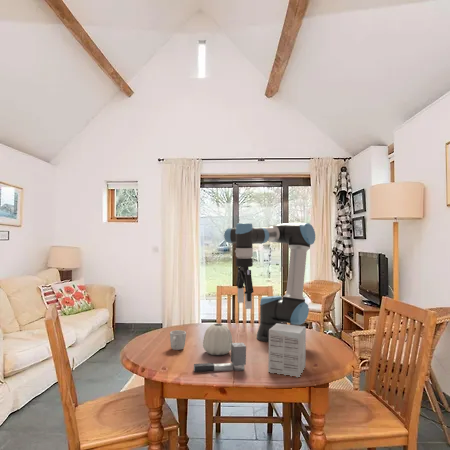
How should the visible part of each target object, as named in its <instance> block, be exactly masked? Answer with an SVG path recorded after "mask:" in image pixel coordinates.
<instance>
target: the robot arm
mask: <svg viewBox="0 0 450 450" xmlns="http://www.w3.org/2000/svg"><path fill="white" fill-rule="evenodd" d="M223 236H224V238H223V239H224V240H225V242H227V243H228V244H235V250H234V253H235V257H236V258H235V266H236V267H237V277H236V284H235V285H236V287H237V303H238V304H239V303H240V304H241V303H244V301H245V303H244V310H252V309H253V298H252V297H253V293H254V284H253V279H252V270H251V269H249V268H250V267H253V265H254V264H253V262H254V261H253V260H254V259H253V256H254V250H253V249H254V248H253V245H257V244H259V245H262V244H265V243H267V242H270V243H278V244H284V245H285V244H287V245H288V248H289V249H290V252H289V253H290V256H289V263H288V275H287V285H286V293H285V294H284V295H283V297H282V296H281V295H273V296H272V295H271V296H264V297H261V299H260V303H259V308H260V309H259V312H260V313H259V314H260V316H259V327H258V329H257V331H256V340H259V341H261V342H265V343H269V329H270V328H272V327H273V326H274V325H275V324H276V323H278V324H282V323H285V324H290V325H297V326H301V325H303V324H304V323H305V321H306V320H307V319H308V317H309V313H310V311H309V309H310V308H309V304H308V303H307V302H306V299H305V297H304V295H303V294H304V284H305V275H306V274H305V273H306V264H307V263H306V262H307V253H308V250H310V249H311V245H313V244H315V241H316V231H315V229H314V227H313V225H312V224H310V223H309V222H290V223H289V222H287V223H278V224H272V225H269V226H265V227H263V226H262V227H258V226H257V227H254V226H253V223H250V222H238V223H236V225H235V227H229V228H226V229H225V231H224V235H223ZM244 290H245V291H244Z"/></svg>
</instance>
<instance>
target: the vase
mask: <svg viewBox="0 0 450 450" xmlns="http://www.w3.org/2000/svg"><path fill="white" fill-rule="evenodd" d="M202 341H203V342H202V346H203V347H202V348H203V349H204V351H205V352H206V353H207V354H208V355H212V356H224V355H227V354H228V353H229V352H231V343H233V337H232V332H231V330H230V329H229V328H228V326H227V325H225V324H223V323H213V324H211V325H210V326H208V327H207V328H206V330H205V332H204V335H203V340H202Z"/></svg>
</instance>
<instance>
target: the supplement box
mask: <svg viewBox="0 0 450 450" xmlns="http://www.w3.org/2000/svg"><path fill="white" fill-rule="evenodd" d="M306 328H307V327H306V326H305V325H297V324H289V323H281V324H278V323H276V324H275V325H274V326H273V327H272V328H270V329H269V342H268V362H267V363H268V365H267V367H268V368H267V369H268V370H267V371H268V373H269V372H270V374H274V373H277V374H276V375H280V374H284V375H283V376H286V375H290V376H289V377H292V376H296V377H295V378H298V377H300V378H301V376H302V374H303V372H304V371H305V369H306V348H307V347H306V342H307V341H306V338H307V337H306V334H307V333H306V332H307V331H306ZM304 368H305V369H304ZM303 370H304V371H303ZM301 373H302V374H301ZM300 375H301V376H300Z"/></svg>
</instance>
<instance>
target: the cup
mask: <svg viewBox="0 0 450 450" xmlns="http://www.w3.org/2000/svg"><path fill="white" fill-rule="evenodd" d="M169 337H170V339H169V340H170V348H171V349H172V350H173V351H181V350H183V349H185V345H186V338H187V332H186V331H185V330H181V329H180V330H177V329H176V330H171V331H170V332H169Z"/></svg>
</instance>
